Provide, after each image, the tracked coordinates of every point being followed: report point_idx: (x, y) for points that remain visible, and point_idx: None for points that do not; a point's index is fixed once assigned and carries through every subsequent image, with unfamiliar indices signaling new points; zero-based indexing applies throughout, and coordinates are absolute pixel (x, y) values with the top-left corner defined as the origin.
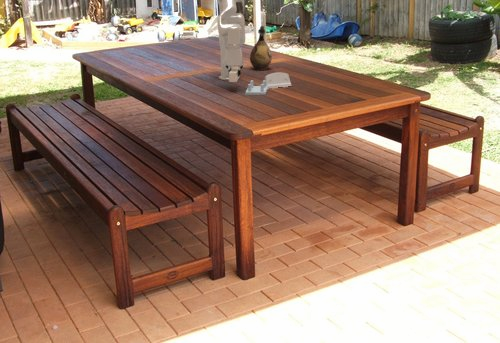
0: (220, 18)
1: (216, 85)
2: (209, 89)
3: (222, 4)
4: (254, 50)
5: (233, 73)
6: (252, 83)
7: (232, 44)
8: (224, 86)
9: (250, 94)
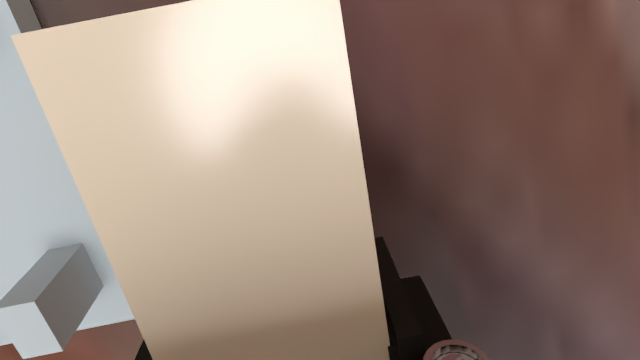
0: None
1: (550, 321)
2: (609, 131)
3: None
4: None
5: (140, 12)
6: (22, 283)
7: None
8: (459, 304)
9: None
